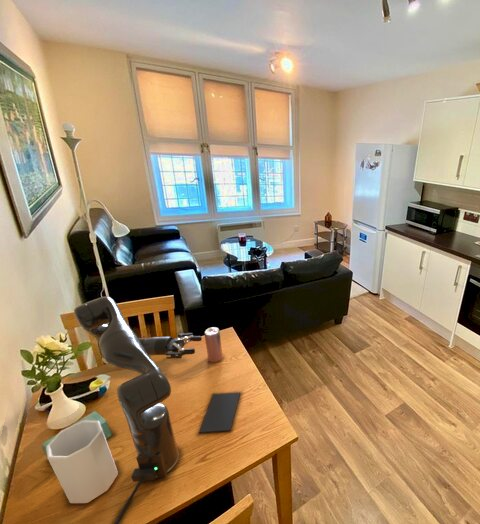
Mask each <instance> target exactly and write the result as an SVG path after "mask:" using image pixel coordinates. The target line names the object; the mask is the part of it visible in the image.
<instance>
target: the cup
mask: <svg viewBox="0 0 480 524" xmlns="http://www.w3.org/2000/svg"><path fill="white" fill-rule="evenodd" d="M75 423H76V422H75ZM73 424H74V423H73ZM73 424H71V425H72V426H71V425H69V426H70V427H69V426H68V427H66V428H63V429H61V430H60V431H59V432H58V433H57V434H56V435H57V436H56V437H55V438H54V439H53V440H52V441H51V442H50V443H49V444H48V445H47V446H46V451H47V457H46V458H47V461H48V462H49V464H50V467H51V468H52V470H53V472H54V474H55V476H56V478H57V480H58V482H59V484H60V486H61V488H62V491H63V492H64V494H65V496H66V498H67V500H68V502H69V504H88V503H90V502H91V501H93V500H95V499H96V498H98V497H99V496H101V495H103V494H104V493H106V492H107V491H108V490H110V489H109V488H111V486H112V484H113V483H114V481H115V479H116V478H117V477H118V475H119V471H118V469H117V465H116V461H115V460H114V457H113V455H112V451H111V449H110V446H109V444H108V441H107V439H106V438H105V436H104V433H103V430H102V427H101V425H100V422H99V421H80V422H78V423H76V424H74V425H73Z"/></svg>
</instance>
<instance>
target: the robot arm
mask: <svg viewBox="0 0 480 524" xmlns="http://www.w3.org/2000/svg"><path fill="white" fill-rule="evenodd" d="M73 315H74V317H75V319H76V321H77V323H78V325H79V326H80V327H81V328H82V329H83V330H84V331H85V332H86V333H87V334H89V335H90V336H92V337H94V338H95V339H96V340H97V342H98V346H99V347H98V348H99V351H100V353H101V357H102V359H103V360H105V362H106V363H107V364H109V365H111V366H112V367H115V368H119V369H123V370H127V371H133V372H136V373H138V374H140V375H137V376H136V377H133V378H131V379H128V380H126V381H124V382H123V383H121V384H119V385H118V387H117V390H116V395H117V400H118V402H119V405H120V407H121V409H122V412H123V414H124V416H125V419H126V422H127V425H128V428H129V432H130V435H131V439H132V442H133V445H134V447H135V451H136V454H137V456H136V458H135V459H136V463H137V465H138V468H137V467H136V468H134V470H133V472H132V474H131V475H130V477H131V480H132V482H133V483H134V482H137V484H136V486H135V487H134V489H133V491H132V492H131V494H130V495H129V497H128V499H127V501H126V503H125V504H124V506H123V508H122V509H121V511H120V513H119V515H118V517H117V518H116V520H115V522H113V524H119V522H120V521H121V519H122V517H123V515H124V514H125V512H126V511H127V508H128V507H129V505H130V504H131V501H132V500H133V498H134V496H135V495H136V493H137V491H138V490H139V488H140V486H141V485H142V483H143V482H146V481H147V482H148V481H154V480H155V479H161V478H162V479H163V478H166V477H167V475H168V474H169V473H170V472H171V471H172V470H173V469H174V468H175V466H176V465H177V464H178V461H179V459H180V452H179V449H178V445H177V441H176V436H175V433H174V429H173V425H172V420H171V416H170V411H169V408H168V407H167V406H166V405H165V404H163V403H162V402H165V401H166V400H167V399H168V398H169V397H170V396H171V394H172V387H171V383H170V382H169V379H168V377H167V375H166V374H165V373H164V372H163V370H161V369H160V367H159V366H158V365H157V364H156V362H155V361H154V360H153V359H152V357H151V356H165V359H171V360H173V359H176V360H177V359H182V358H183V356H185V355H194V354H195V353H196V350H195V348H184V347H185V346H186V345H188V344H189V343H191V342H201V341H203V340H202V339H203V338H202V336H201V335H193V332H185V333H183V332H182V333H178V334H177V337H176V338H173V337H171V336H152V337H138V336H137V334H136V332H134V330H133V329H132V327H131V326H130V325H129V324H128V322H127V321H126V319H125V317H124V315H123V313H122V311H121V309H120V307H119V306H118V304H117V302H116V301H115V300H114V299H113V298H112V297H111V296H107V295H106V296H101V297H98V298H94V299H92V300H89V301H87V302H85V303H82V304H80V305H78V306H76V307H75V308H74V309H73Z"/></svg>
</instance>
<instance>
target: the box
mask: <svg viewBox="0 0 480 524" xmlns="http://www.w3.org/2000/svg"><path fill="white" fill-rule="evenodd" d="M80 421H99V422H100V425H101V427H102V430H103V433H104V436H105V438H106V440H107V439H109V438H110V437H112V436H113V432H112V430H111V428H110V425H109V423H108V421H107V419H106V418H105V417H103V415H101V414H100V413H98V411H97V410H94V411H92V412H90V413H89V414H87V415H85V416H84V417H82V418H80V419H79V420H78V421H76V422H74V423H73V424H71V425H69V426H68V427H70V426H72V425H74V424H76V423H78V422H80ZM56 436H57V434H55V435H53V436H51V437H50V438H49V439H47V440H46V441H44V442H43V443H42V445H41V448H42V451H43V454H44V455H45V457H46V458H47V451H46V446H47V445H48V444H49V443H50V442H51V441H52V440H53V439H54V438H55V437H56Z"/></svg>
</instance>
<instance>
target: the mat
mask: <svg viewBox="0 0 480 524" xmlns="http://www.w3.org/2000/svg"><path fill="white" fill-rule="evenodd" d="M240 396H241V392H226V393H212V397H211V399H210V402H209V405H208V408H207V410H206V413H205V415H204V418H203V421H202V424H201V426H200V429H199V434H206V433H208V434H209V433H223V432H231V430H232V427H233V422H234V419H235V415H236V411H237V407H238V403H239V400H240Z"/></svg>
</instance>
